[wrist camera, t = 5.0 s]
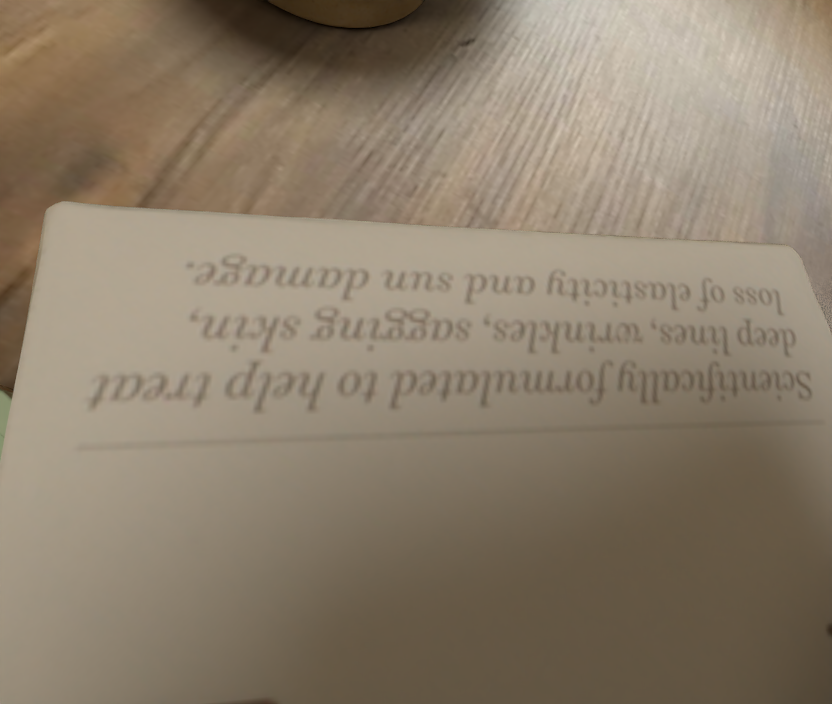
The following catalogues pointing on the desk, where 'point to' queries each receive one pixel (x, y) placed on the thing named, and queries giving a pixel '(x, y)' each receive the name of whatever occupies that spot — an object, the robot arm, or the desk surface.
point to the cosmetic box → (413, 467)
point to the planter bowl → (349, 11)
